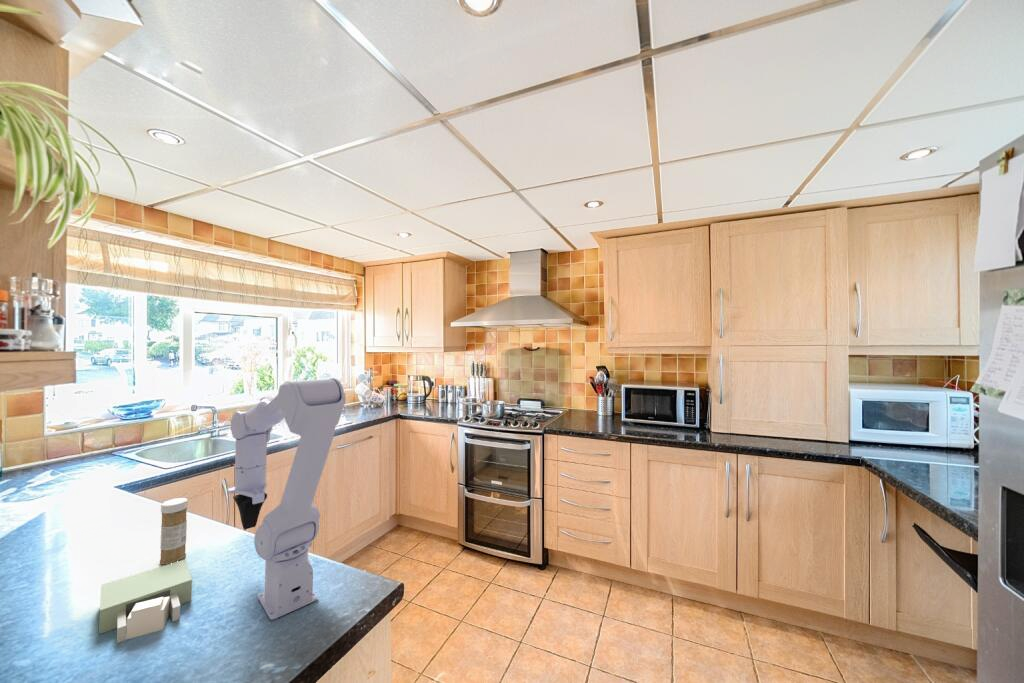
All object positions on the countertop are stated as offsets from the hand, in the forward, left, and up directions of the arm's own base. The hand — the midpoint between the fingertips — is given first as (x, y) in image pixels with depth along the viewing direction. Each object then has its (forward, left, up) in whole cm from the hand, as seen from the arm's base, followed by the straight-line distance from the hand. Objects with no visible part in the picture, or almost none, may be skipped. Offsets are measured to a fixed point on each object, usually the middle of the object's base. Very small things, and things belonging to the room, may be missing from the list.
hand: (249, 527), depth 83 cm
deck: (-2, +16, -9) cm, 19 cm away
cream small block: (-8, +16, -10) cm, 20 cm away
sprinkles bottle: (+17, +11, -10) cm, 22 cm away
